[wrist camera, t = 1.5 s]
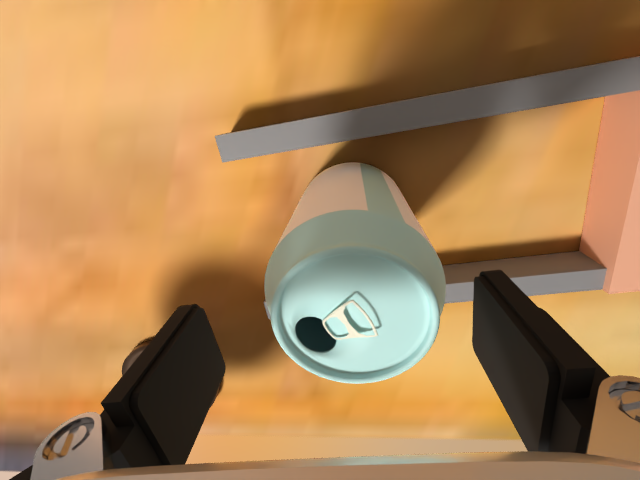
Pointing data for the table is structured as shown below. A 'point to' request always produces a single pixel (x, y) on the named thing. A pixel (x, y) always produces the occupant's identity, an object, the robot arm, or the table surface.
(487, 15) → the table surface
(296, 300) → the can
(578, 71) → the track
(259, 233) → the table surface
